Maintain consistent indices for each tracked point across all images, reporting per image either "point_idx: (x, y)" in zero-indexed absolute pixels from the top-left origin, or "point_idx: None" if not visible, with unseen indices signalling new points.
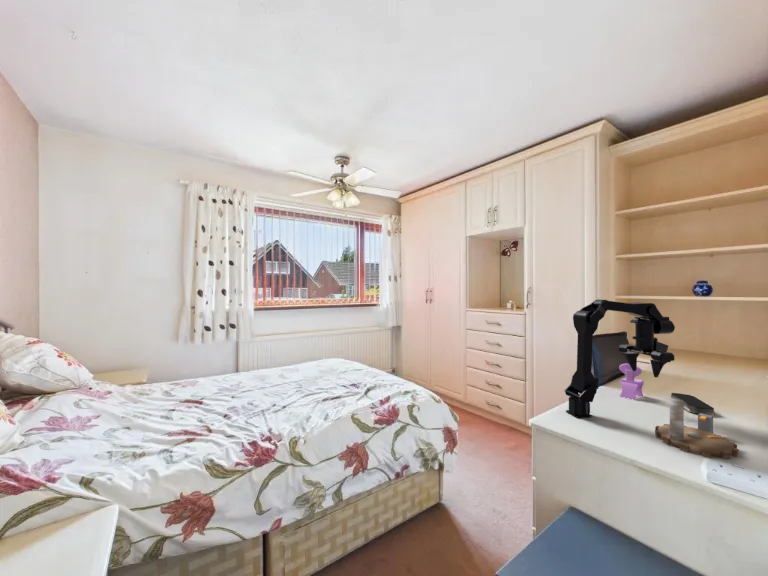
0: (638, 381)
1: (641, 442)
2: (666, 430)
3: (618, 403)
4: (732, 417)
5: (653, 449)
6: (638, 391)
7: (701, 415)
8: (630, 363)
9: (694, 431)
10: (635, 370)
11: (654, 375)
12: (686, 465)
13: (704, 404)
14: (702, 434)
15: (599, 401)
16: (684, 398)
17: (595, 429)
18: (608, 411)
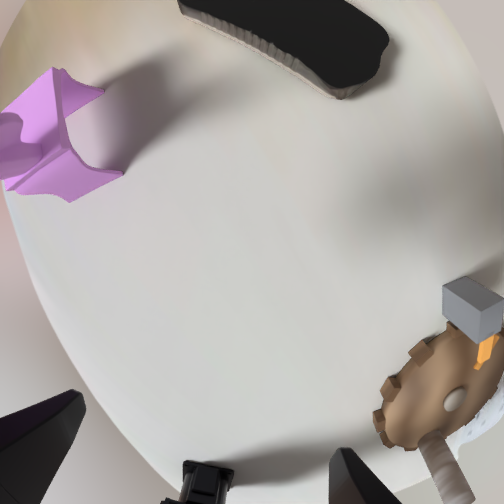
0: (48, 113)
1: (374, 470)
2: (404, 428)
3: (134, 301)
4: (399, 17)
5: (397, 468)
6: (75, 95)
7: (484, 337)
8: (52, 478)
9: (451, 368)
10: (81, 401)
11: (337, 481)
12: None
13: (338, 9)
14: (466, 367)
15: (107, 348)
16: (253, 7)
17: (290, 495)
18: (203, 412)
